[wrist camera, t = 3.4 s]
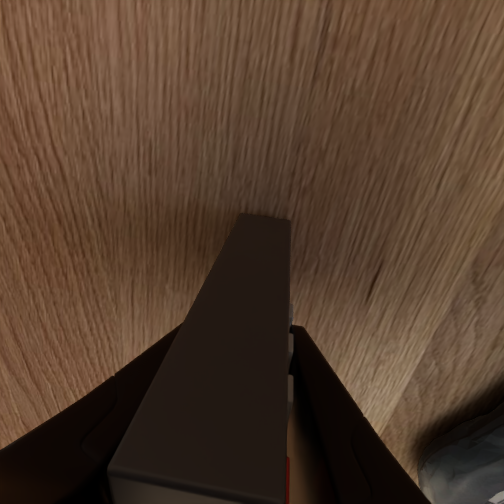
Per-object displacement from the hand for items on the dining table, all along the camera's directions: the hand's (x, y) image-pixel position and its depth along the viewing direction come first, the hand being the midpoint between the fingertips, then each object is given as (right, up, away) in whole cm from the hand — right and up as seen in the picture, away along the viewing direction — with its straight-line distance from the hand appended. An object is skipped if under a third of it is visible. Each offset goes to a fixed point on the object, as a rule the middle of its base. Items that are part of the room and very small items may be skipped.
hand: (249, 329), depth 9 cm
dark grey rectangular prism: (0, +2, +4) cm, 5 cm away
